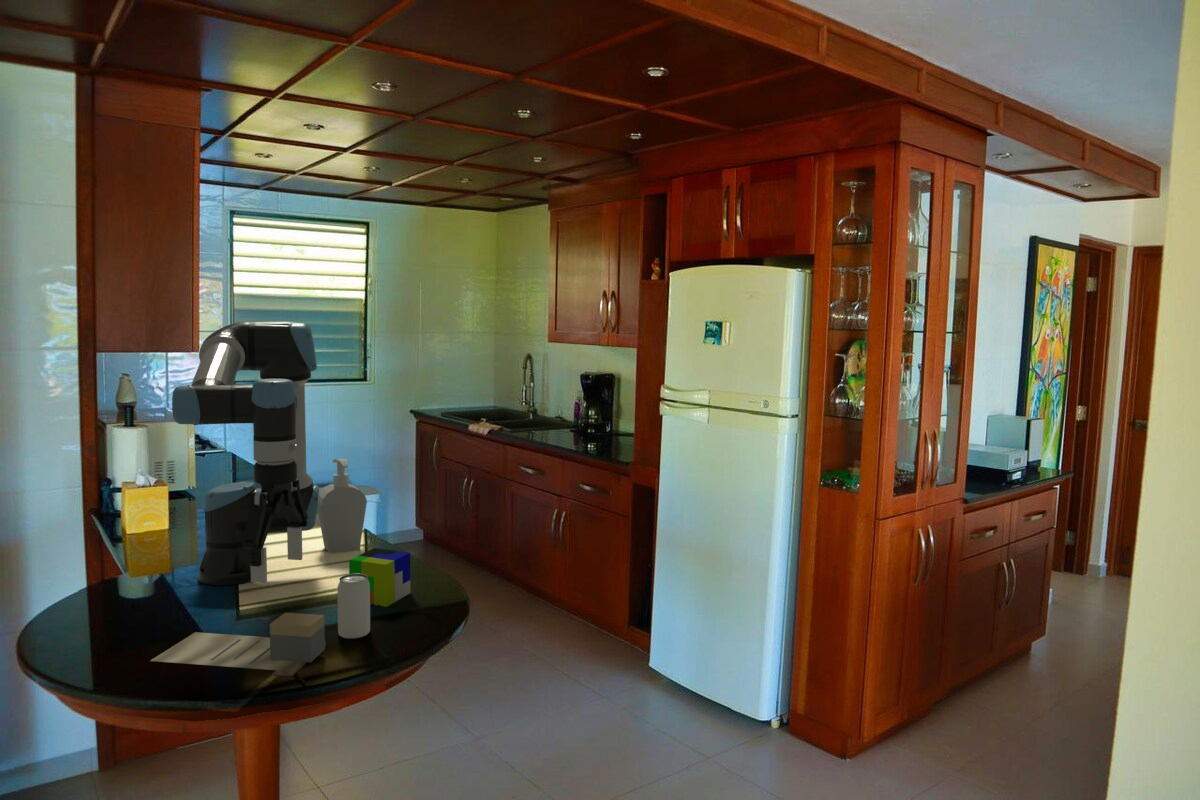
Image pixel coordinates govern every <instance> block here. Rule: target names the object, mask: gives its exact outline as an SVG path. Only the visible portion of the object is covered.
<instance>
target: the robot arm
mask: <svg viewBox="0 0 1200 800" xmlns="http://www.w3.org/2000/svg"><path fill="white" fill-rule="evenodd" d="M312 332H313V331H312V329H311V326H309V325H308V324H307V323H303V322H292V321H256V322H255V321H237V322H234V323H231V324H227V325H225V326H223V327H221V328H219V329H217V330H215V331H214V332H212V333H211V334H209V335H207V337H206V338H205V339H204V340H203V341H202V343H201V346H200V348H199V352H198V358H199V364H198V367H197V369H196V373H195V374H194V377H193V380H192V382H191V384H187V385H178V386H176V387H174V389H173V391H172V397H171V406H172V407H171V409H172V410H171V412H172V416H173V420H174V422H175V423H176V424H178V425H193V426H199V425H200V426H201V425H203V426H204V425H228V424H229V425H231V424H252V426H253V429H252V430H253V440H252V441H253V446H252V447H253V460H254V461H255V463H254V464H253V477H254V478H253V480H254V481H249V480H248V481H237V482H231V483H230V482H229V483H225V484H221V485H219V486H214V487H213V488H210V489H209V490H208V491H207V492H205V496H204V507H203V512H204V525H205V526H204V529H205V530H204V531H205V534H204V535H205V536H204V537H205V550H204V552H203V556H202V559H201V561H200V562H201V563H200V565H199V569H198V581H199V582H200V583H202V584H205V585H209V586H232V585H240V584H243V583H244V584H245V583H249V582H250V583H259V584H266V583H268V566H267V565H268V563H267V560H268V559H267V547H266V546H265V542H266V540H267V538H268V534H281V533H287V534H286V535H287V539H286V540H287V542H286V543H287V544H286V545H287V560H290V561H292V560H293V561H302V560H303V531H304V532H305V531H310V530H312V529H313V528H314V527H315V524H316V521H317V515H318V509H317V506H318V496H319V492H320V486H319V485H317V484H314V479H313V477H312V476H311V475H309V474H308V473H307V443H306V442H307V441H306V440H307V439H306V436H307V435H306V434H307V433H306V394H305V393H306V390H305V389H306V388H305V387H306V386H305V384H306V383H307V382H308V381H310V379H311V378H312V372H314V371H316V370H317V369H318V364H317V357H316V349H315V344H314V338H313V337H314V336H313V333H312ZM240 371H255V372H256V371H257V372H258V371H259V378H260V379H257V380H255V381H254V382H253V383H252V384H247V385H246V384H245V385H243V384H238V385H235V380H236V376H237V372H240ZM256 484H258V485H260V486H261V487H257V485H256Z"/></svg>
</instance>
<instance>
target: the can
mask: <svg viewBox="0 0 1200 800" xmlns="http://www.w3.org/2000/svg"><path fill="white" fill-rule="evenodd" d="M367 578H368V577H367V576H366V575H364V574H349V573H348V574H345V575H341V576H340V577H339V582H338V584H337V632H338V633H337V634H338V636H340V638H341V639H347V640H355V639H356V640H357V639H360V638H361V639H362V638H364V637H366V636H367V635H368V634H369V633H370V631H371V604H370V584H369V581H368V580H367Z"/></svg>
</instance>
